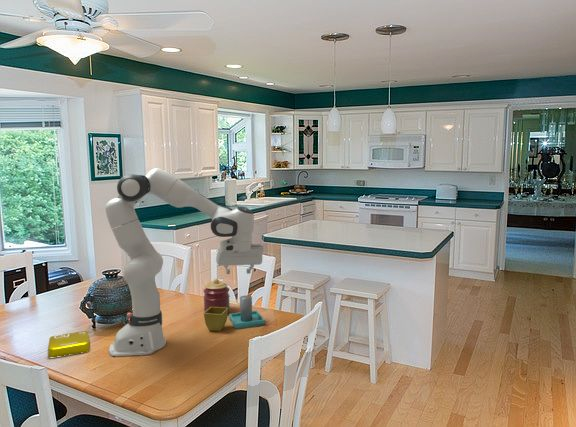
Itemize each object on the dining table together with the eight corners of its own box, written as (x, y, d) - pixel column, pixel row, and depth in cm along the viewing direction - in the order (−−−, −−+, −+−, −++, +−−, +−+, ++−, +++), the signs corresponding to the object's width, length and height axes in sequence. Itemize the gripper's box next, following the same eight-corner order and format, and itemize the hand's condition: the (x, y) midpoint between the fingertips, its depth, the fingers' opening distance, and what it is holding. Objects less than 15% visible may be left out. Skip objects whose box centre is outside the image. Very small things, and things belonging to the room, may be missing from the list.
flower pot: (222, 333, 200) (221, 314, 199) (203, 332, 202) (203, 313, 201) (228, 326, 209) (228, 307, 208) (211, 325, 211) (210, 306, 210)
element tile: (48, 360, 177) (47, 348, 176) (50, 345, 190) (49, 335, 190) (90, 352, 183) (89, 341, 182) (89, 339, 197) (88, 328, 196)
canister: (232, 308, 233) (231, 275, 231) (226, 317, 220) (225, 282, 218) (208, 307, 235) (207, 275, 232) (200, 316, 222) (199, 282, 220)
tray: (235, 329, 205) (235, 324, 205) (229, 318, 218) (229, 313, 218) (264, 325, 210) (264, 320, 209) (257, 315, 223) (257, 310, 223)
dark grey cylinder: (242, 322, 210) (241, 299, 209) (239, 318, 216) (238, 296, 214) (253, 320, 212) (253, 298, 211) (250, 316, 217) (250, 294, 216)
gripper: (262, 241, 202) (258, 269, 205) (216, 241, 194) (214, 270, 198) (266, 246, 196) (262, 275, 200) (219, 247, 188) (217, 277, 192)
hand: (238, 273), depth 199 cm, fingers open, 8 cm apart
